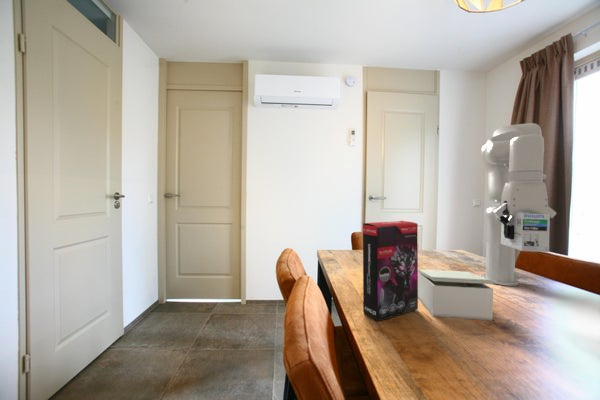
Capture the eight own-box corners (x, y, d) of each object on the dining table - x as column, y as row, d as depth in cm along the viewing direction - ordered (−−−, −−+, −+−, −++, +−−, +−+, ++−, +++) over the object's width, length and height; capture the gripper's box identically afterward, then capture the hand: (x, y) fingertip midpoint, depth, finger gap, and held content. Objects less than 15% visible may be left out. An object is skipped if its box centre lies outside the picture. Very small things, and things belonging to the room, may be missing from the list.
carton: (467, 300, 86) (467, 274, 86) (492, 320, 73) (493, 289, 72) (417, 297, 89) (418, 271, 88) (432, 316, 75) (433, 285, 75)
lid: (467, 274, 86) (467, 271, 86) (493, 284, 72) (493, 280, 72) (418, 271, 88) (418, 269, 88) (433, 280, 75) (433, 277, 75)
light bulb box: (550, 253, 69) (551, 213, 69) (521, 251, 70) (522, 212, 70) (524, 245, 80) (525, 210, 79) (499, 243, 81) (500, 210, 81)
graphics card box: (377, 323, 70) (378, 224, 70) (360, 312, 76) (361, 222, 76) (418, 310, 78) (420, 222, 78) (400, 302, 84) (401, 220, 84)
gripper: (547, 178, 77) (545, 237, 77) (485, 179, 79) (483, 235, 80) (570, 177, 69) (568, 242, 70) (500, 177, 72) (498, 240, 72)
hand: (523, 238), depth 75 cm, fingers closed on light bulb box, 6 cm apart
